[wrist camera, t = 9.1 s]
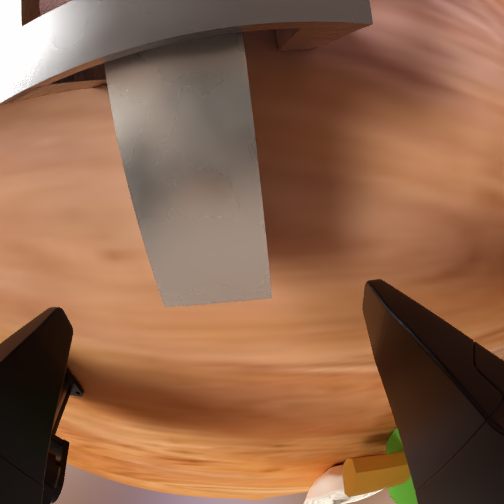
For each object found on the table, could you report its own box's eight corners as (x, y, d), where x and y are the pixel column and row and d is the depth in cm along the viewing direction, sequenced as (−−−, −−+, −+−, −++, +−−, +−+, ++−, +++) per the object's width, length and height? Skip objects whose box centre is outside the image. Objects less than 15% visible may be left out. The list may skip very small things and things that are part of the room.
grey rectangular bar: (265, 238, 17) (272, 298, 12) (183, 246, 17) (164, 307, 13) (220, -113, 7) (213, -164, 2) (134, -94, 7) (100, -136, 2)
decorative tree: (364, 532, 18) (561, 448, 17) (363, 422, 25) (552, 373, 24) (334, 515, 27) (511, 461, 26) (333, 433, 34) (505, 397, 33)
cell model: (389, 460, 36) (398, 498, 30) (316, 483, 39) (320, 520, 33) (377, 442, 31) (389, 488, 25) (289, 469, 34) (293, 513, 28)
